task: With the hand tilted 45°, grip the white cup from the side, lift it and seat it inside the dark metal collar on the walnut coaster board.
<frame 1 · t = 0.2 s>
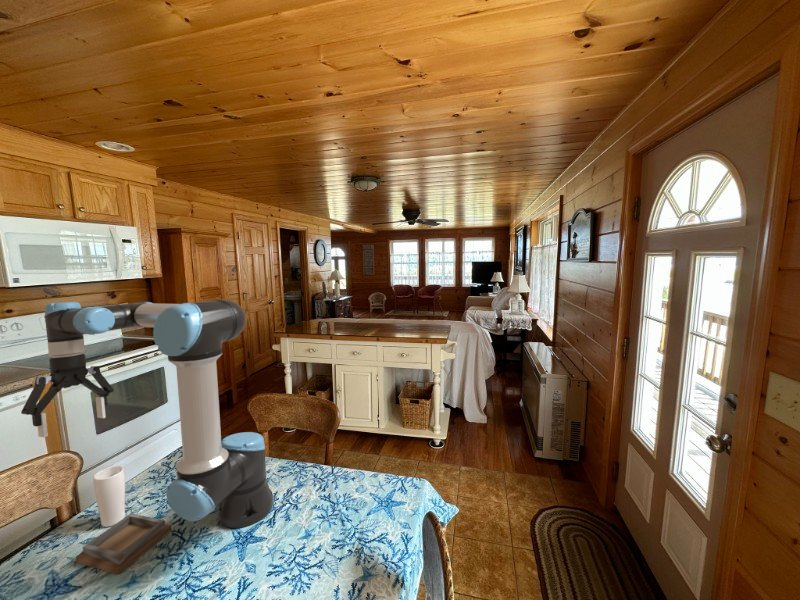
hand: (74, 426, 98), 27 cm above the table, tool pointing down, fingers open, 13 cm apart
collar board: (126, 545, 88), on the table
white cup: (113, 521, 97), on the table
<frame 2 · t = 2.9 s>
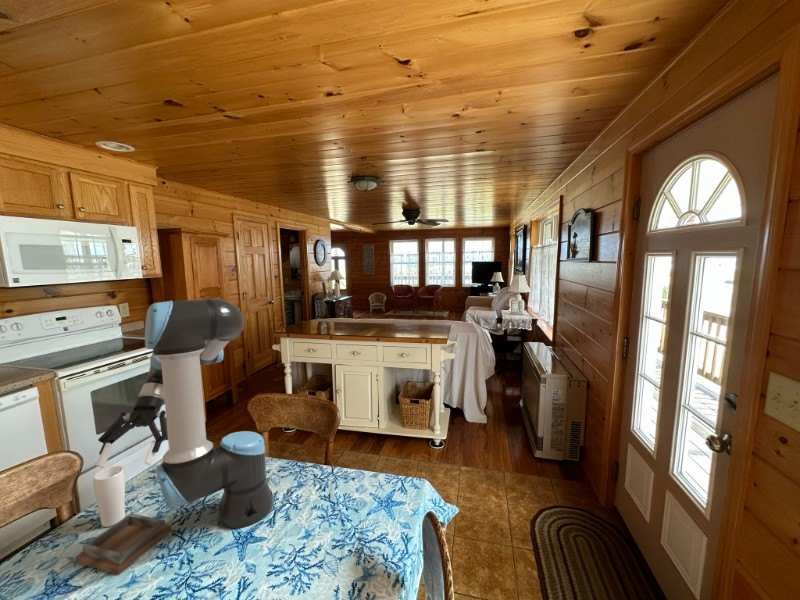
hand: (123, 465, 103), 13 cm above the table, tool tilted 45°, fingers open, 13 cm apart
nothing on the table moved.
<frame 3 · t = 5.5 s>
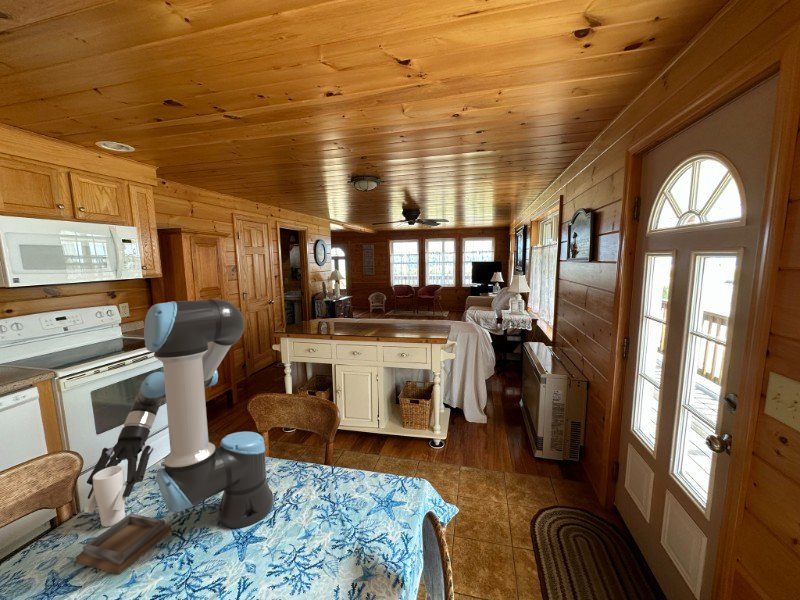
hand: (102, 511, 93), 5 cm above the table, tool tilted 45°, fingers closed on white cup, 7 cm apart
white cup: (113, 521, 97), on the table, touching gripper
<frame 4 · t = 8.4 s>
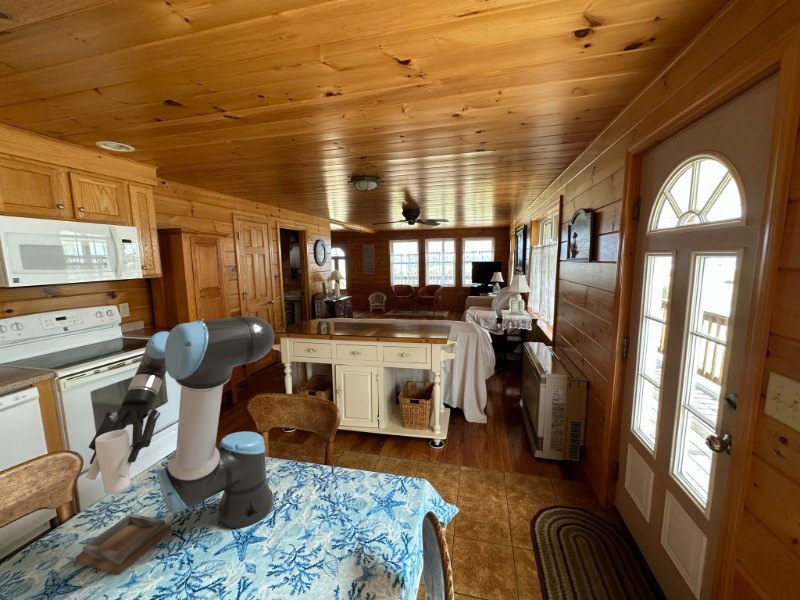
hand: (106, 476, 86), 20 cm above the table, tool tilted 45°, fingers closed on white cup, 7 cm apart
white cup: (118, 489, 89), point 14 cm above the table, touching gripper
when the fingers open (8 cm above the table, at t = 11.3 s): white cup drops 1 cm, resting on collar board.
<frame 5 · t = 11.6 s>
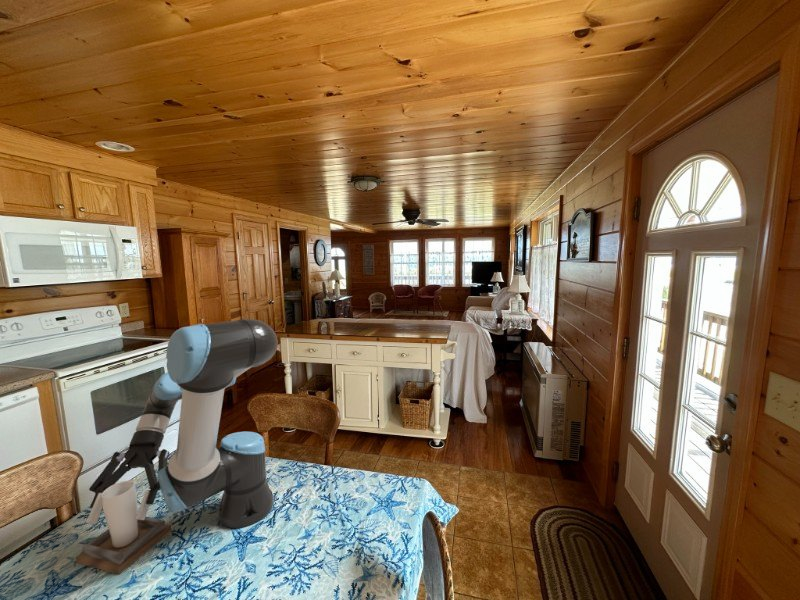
hand: (115, 521, 85), 9 cm above the table, tool tilted 45°, fingers open, 11 cm apart
white cup: (126, 541, 88), point 1 cm above the table, touching collar board
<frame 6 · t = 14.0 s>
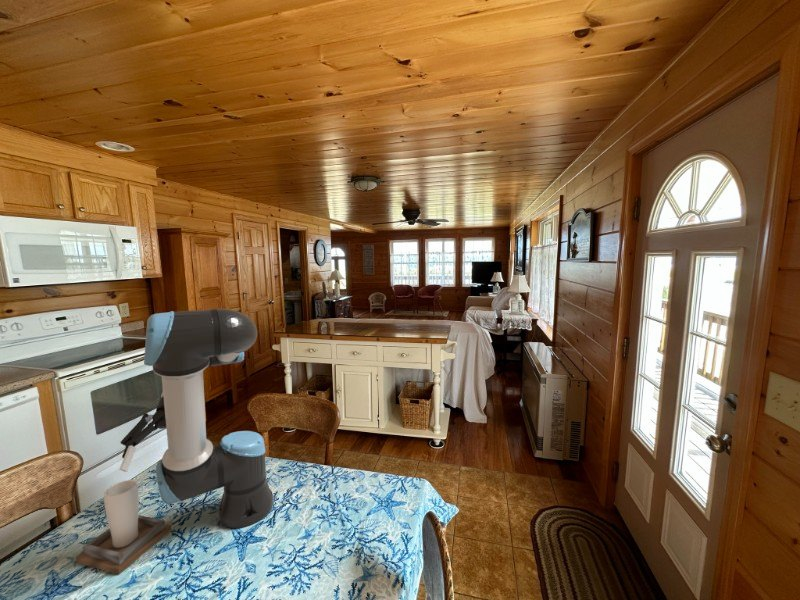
hand: (148, 469, 98), 15 cm above the table, tool tilted 45°, fingers open, 13 cm apart
nothing on the table moved.
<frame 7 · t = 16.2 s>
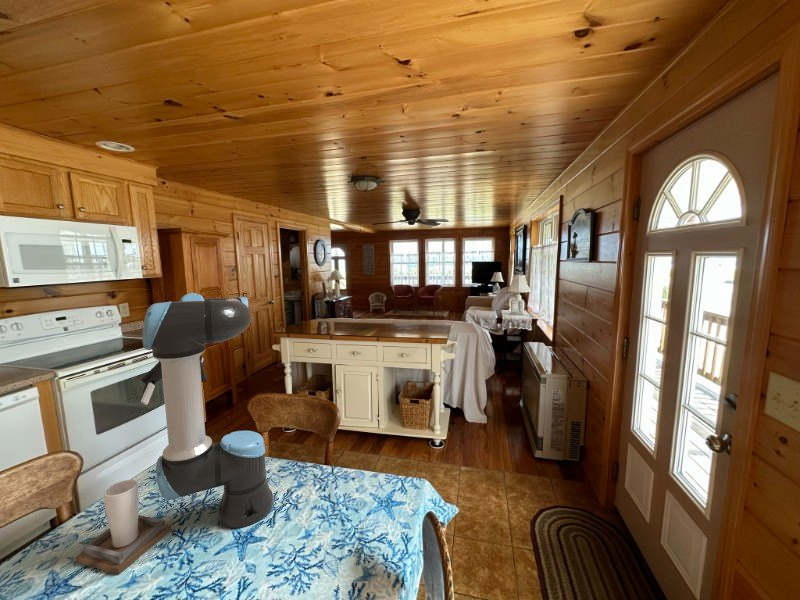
hand: (166, 402, 109), 30 cm above the table, tool tilted 45°, fingers open, 13 cm apart
nothing on the table moved.
at the end: white cup 0.2 cm off-centre on the collar board, point 1.3 cm above the collar board's base; white cup tilted 0°; the gripper is holding nothing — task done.
